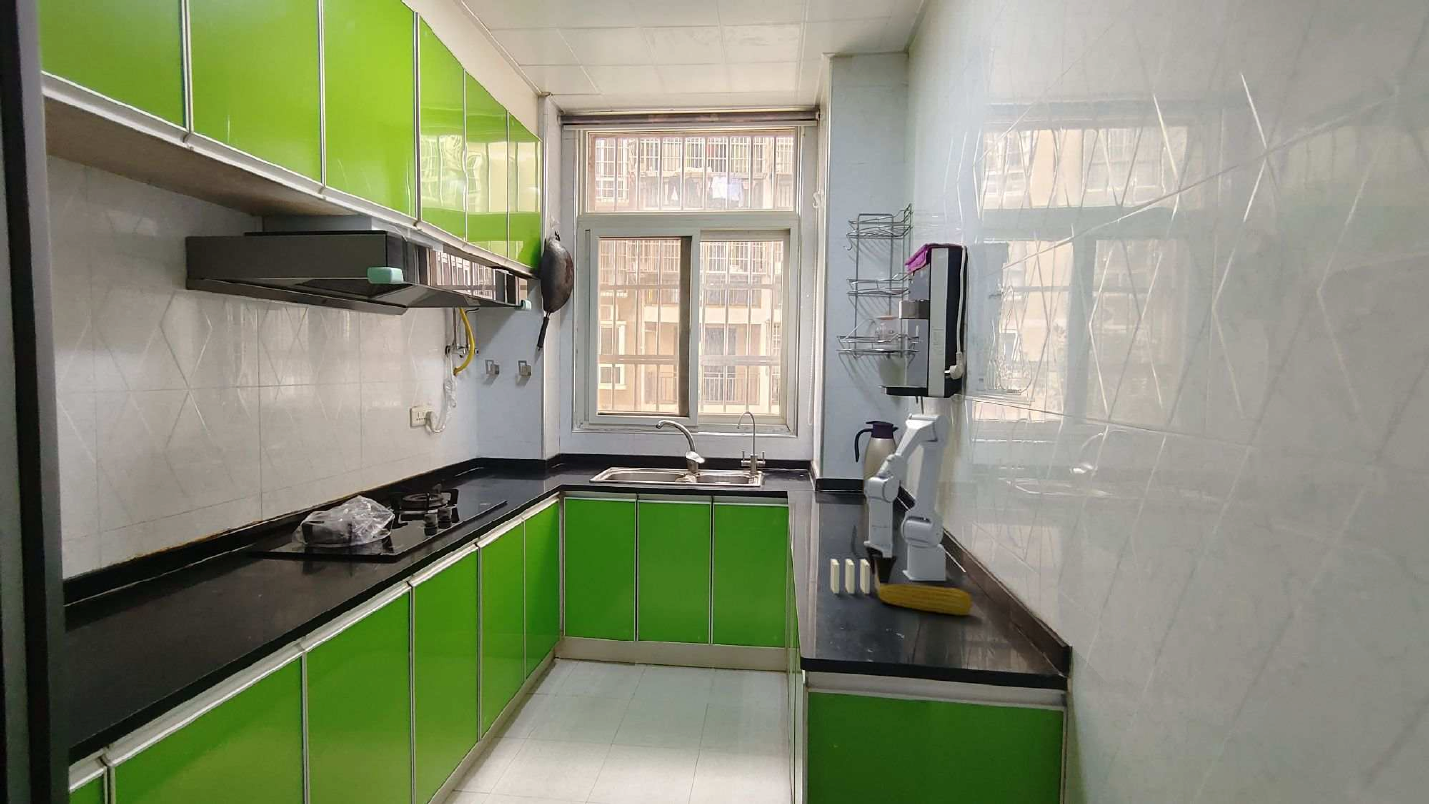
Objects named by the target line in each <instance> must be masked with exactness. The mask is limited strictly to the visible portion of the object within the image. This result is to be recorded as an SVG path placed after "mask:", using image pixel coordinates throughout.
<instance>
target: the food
mask: <svg viewBox="0 0 1429 804" xmlns="http://www.w3.org/2000/svg"><path fill="white" fill-rule="evenodd" d="M877 595H878V597H879V599H880V600H882V601H884V602H885V603H887V604H891V605H894V606H898V607H903V608H906V609H910V610H911V609H912V610H915V609H916V610H917V611H923V612H933V613H934V612H935V613H937V614H938V613H939V614H944V615H952V614H953V615H955V616H966V615H969V614H970V612H971V609H972V608H973V605H972V602H973V600H972V596H971V594H969V593H968V592H966V591H965V590H962V589H959V588H953V587H942V586H941V587H939V586H932V585H930V586H929V585H917V584H916V585H915V584H906V583H905V584H904V583H903V584H901V583H891V584H889V583H887V585H885V586H883V587H881V588H879V590H878V591H877ZM953 615H952V616H953Z"/></svg>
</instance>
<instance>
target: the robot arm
mask: <svg viewBox="0 0 1429 804" xmlns="http://www.w3.org/2000/svg"><path fill="white" fill-rule="evenodd" d="M904 428H905V432H904V435H903V436H902V439H901V440H900V443H899V445H898V446H897V449H896V451H895V453H892V454H889V455H887V457H886V458H885V461H884V462H883V464H882V465H881V467H880V468H879V470H878V471H877V472H876V474H875V476H873V477H872V476H871V477H870V478H869V479H868V480H866V483H865V486H864V489H863V492H864V495H865V498H866V504H867V506H868V540H867V541H866V540H865V541H864V542H863V545H864V546H863V547H864V549H865V551H866V554H867V556H868V560H869V565H870V571H871V575H875V562H876V566H877V572H878V579H879V583H885V584H889V583H890V578H891V575H892V571H893V567H894V565H895V563H896V562H897V560H898V557H897V556H896V555H893V546H894V542H893V513H894V512H893V508H894V507H893V503H894V500H895V499H896V498H897V496H898V494H899V487H900V482H901V480H902V478H903V476H904V475H905V473H906V472H907V470H908V468H909V464H908V460H909V458H911V456H912V454H913V453H914V452H915V451H916V449H917V448H918V446H919V445H920V446H921V447H922V449H923V452H922V457H921V458H922V459H921V464H920V465H921V466H920V469H919V475H918V476H919V477H918V483H917V489H916V494H915V501H914V506H912V507H911V508H909V509H908V510H906V511H905V513H904V514H905V516H904V518H903V521H902V523H901V525H900V534H901V536H902V538H903V539H904V540H905V541H904V542H905V543H906V544H907V561H906V562H907V565H906V566H907V569H906V570H905V569H904V570H902V573H903V574H904V575H905V576H906V578H907V579H909V580H910V581H913V582H914V581H915V582H916V581H922V582H923V581H935V582H937V581H938V582H940V581H943V582H945V581H947V578H946V561H947V560H946V558H947V557H946V556H947V555H946V550H945V548H944V546H943V544H940V543H941V542H942V540H943V537H944V527H943V523H944V519H943V517H942V516H941V515H940V514H939V513H938V512H937V510H936V504H937V497H938V491H939V490H938V489H939V484H940V478H941V473H942V466H943V465H942V464H943V459H944V455H945V454H944V452H945V448H946V447H947V446H948V442H949V435H950V430H951V424H950V421H949V419H948V417H947V416H946V415H945V414H943V413H940V414H938V413H937V414H933V413H918V412H912V413H910V414H909V415H908V417H907V419H906V421H905V423H904ZM920 518H921V519H920ZM922 518H923V519H922ZM926 519H928V520H926Z"/></svg>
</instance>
